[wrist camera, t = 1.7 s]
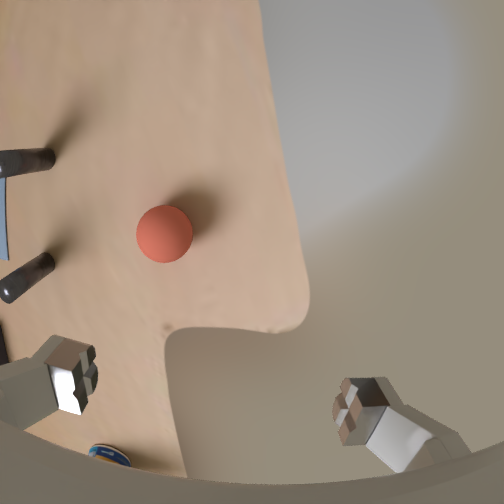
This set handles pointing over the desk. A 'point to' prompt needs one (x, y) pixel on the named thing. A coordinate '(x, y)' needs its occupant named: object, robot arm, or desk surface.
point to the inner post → (25, 161)
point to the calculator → (2, 350)
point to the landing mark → (3, 222)
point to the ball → (164, 234)
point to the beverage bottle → (109, 455)
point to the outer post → (25, 277)
